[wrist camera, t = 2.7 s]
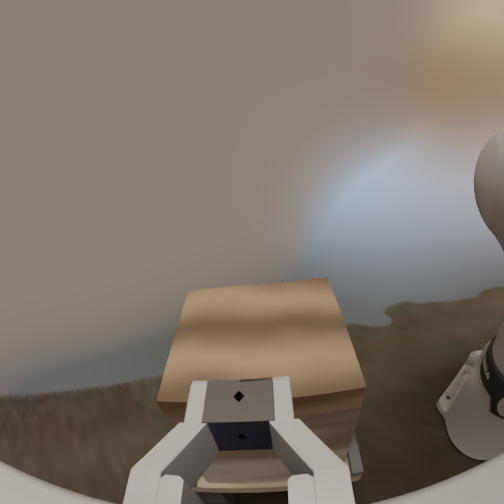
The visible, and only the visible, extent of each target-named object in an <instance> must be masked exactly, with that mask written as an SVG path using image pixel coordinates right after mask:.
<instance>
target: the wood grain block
mask: <svg viewBox="0 0 504 504" xmlns="http://www.w3.org/2000/svg"><path fill="white" fill-rule="evenodd" d="M280 376H289V377H290V383H291V392H292V402H293V411H294V419H300V420H301V421H302V422H303V423H304V424H305V425H306V426H307V427H308V428H309V429H310V430H311V431H312V432H313V433H314V434H315V435H316V436H317V437H318V438H319V439H320V440H321V441H322V442H323V443H324V444H325V445H326V446H327V447H328V448H329V449H330V450H331V451H332V452H333V453H334V454H336V455H337V456H338V457H339V458H340V459H341V460H342V461H343V462H344V461H345V458H346V456H347V453H348V450H349V447H350V443H351V440H352V437H353V434H354V431H355V427H356V424H357V420H358V417H359V413H360V410H361V406H362V403H363V399H364V395H365V391H366V384H365V381H364V378H363V375H362V372H361V369H360V366H359V363H358V360H357V357H356V354H355V351H354V348H353V345H352V342H351V340H350V337H349V334H348V331H347V328H346V326H345V323H344V320H343V317H342V315H341V312H340V309H339V306H338V304H337V301H336V298H335V296H334V293H333V291H332V288H331V285H330V283H329V280H328V278H317V279H308V280H298V281H289V282H278V283H267V284H256V285H245V286H233V287H220V288H208V289H196V290H189V291H188V294H187V297H186V301H185V304H184V307H183V310H182V314H181V317H180V320H179V324H178V327H177V330H176V334H175V337H174V340H173V344H172V347H171V351H170V354H169V357H168V361H167V365H166V368H165V372H164V375H163V379H162V382H161V386H160V390H159V394H158V397H157V403H158V405H159V407H160V408H161V410H162V412H163V414H164V415H165V417H166V419H167V421H168V422H169V424H170V426H171V427H172V429H173V428H174V427H175V426H176V425H177V424H178V423H179V422H182V423H184V419H185V413H186V408H187V402H188V397H189V392H190V386H191V384H192V382H193V380H197V381H201V380H240V379H254V378H266V377H272V379H273V377H280ZM219 452H220V453H219V454H218V455H217V457H216V458H215V459H214V461H213V462H212V463H211V465H210V466H209V467H208V469H207V470H206V471H205V473H204V474H203V475H202V476H203V477H204V478H205V480H206V481H207V483H223V484H245V483H271V482H285V481H288V479H289V478H290V477H291V476H292V474H291V473H290V471H289V470H288V469H287V468H286V466H285V465H284V464H283V463H282V461H281V460H280V459H279V457H278V456H277V455H276V453H275V452H274V451H273V449H268V450H236V451H219Z"/></svg>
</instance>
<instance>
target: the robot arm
mask: <svg viewBox="0 0 504 504" xmlns="http://www.w3.org/2000/svg"><path fill="white" fill-rule="evenodd" d="M474 192H475V198H476V203H477V206H478V209H479V212H480V214H481V216H482V218H483V220H484V222H485V224H486V225H487V227H488V228H489V229H490V231H491V232H492V233H493V234H494V236H495V237H496V239H497V240H498V242H499V243H500V245H501V247H502V249H503V251H504V134H496V135H495V136H494V137H492V138H491V139H490V140H489V141H488V142H487V144H486V145H485V146H484V148H483V150H482V151H481V153H480V156H479V158H478V161H477V164H476V168H475V175H474ZM446 398H448V399H449V400H448V399H446ZM436 405H437V408H438V410H439V412H440V413H441V414H442V416H443V417H444V419H445V422H446V427H447V431H448V434H449V437H450V439H451V441H452V442H453V444H454V445H455V446H456V447H457V448H458V449H459V450H460V451H461V452H462V453H464V454H465V455H467V456H469V457H471V458H474V459H478V460H488V461H486V462H484V463H482V464H480V465H478V466H476V467H474V468H472V469H469V470H467V471H465V472H463V473H461V474H458V475H456V476H454V477H451V478H449V479H446V480H444V481H441V482H439V483H436V484H433V485H431V486H428V487H425V488H422V489H420V490H417V491H414V492H410V493H407V494H404V495H401V496H397V497H394V498H390V499H387V500H383V501H379V502H375V503H371V504H504V318H503V320H502V323H501V326H500V329H499V331H498V333H497V335H495V337H494V338H493V339H492V340H491V341H489V342H487V344H486V345H485V347H484V349H483V350H479V351H473V352H471V353H470V355H469V357H468V359H467V361H466V362H465V364H464V365H463V367H462V368H461V370H460V371H459V373H458V374H457V376H456V377H455V378H454V380H453V381H452V383H451V384H450V385H449V387H448V388H447V389H446V391H445V392H444V393H443V395H442V396H441V397H440V399H439V400H438V401H437V404H436ZM268 449H273V451H274V452H275V453H276V455H277V456H278V457H279V459H280V460H281V461H282V463H283V464H284V465H285V466H286V468H287V469H288V470H289V471H290V473H291V474H292V476H291V477H290V478H289V479H288V504H355V500H354V494H353V489H352V483H351V478H350V472H349V467H348V466H347V465H346V464H345V463H344V462H343V461H342V460H341V459H340V458H339V457H338V456H337V455H336V454H334V453H333V452H332V451H331V450H330V449H329V448H328V447H327V446H326V445H325V444H324V443H323V442H322V441H321V440H320V439H319V438H318V437H317V436H316V435H315V434H314V433H313V432H312V431H311V430H310V429H309V428H308V427H307V426H306V425H305V424H304V423H303V422H302V421H301V420H300V419H294V411H293V402H292V392H291V383H290V377H289V376H280V377H273V379H272V377H266V378H254V379H240V380H201V381H197V380H193V382H192V384H191V386H190V392H189V397H188V402H187V408H186V413H185V419H184V423H182V422H179V423H178V424H177V425H176V426H175V427H174V428H173V429H172V430H171V431H170V432H169V433H168V434H167V435H166V436H165V437H164V438H163V439H162V440H161V441H160V442H159V443H158V444H157V445H156V446H155V447H154V448H153V449H152V450H151V451H149V452H148V453H147V454H146V455H145V456H144V457H143V458H142V459H141V460H140V461H139V462H138V463H137V464H136V465H135V466H133V467H132V468H131V472H130V476H129V480H128V484H127V488H126V492H125V497H124V501H123V504H204V503H203V501H202V500H201V499H200V498H199V497H198V496H197V495H196V494H195V493H194V491H193V490H192V488H193V487H194V486H195V484H196V483H197V482H198V480H199V479H200V478H201V477H202V475H203V474H204V473H205V471H206V470H207V469H208V467H209V466H210V465H211V463H212V462H213V461H214V459H215V458H216V457H217V455H218V454H219V453H220V452H219V451H236V450H268ZM0 504H115V503H111V502H107V501H103V500H100V499H96V498H92V497H89V496H86V495H82V494H79V493H76V492H73V491H70V490H67V489H64V488H62V487H59V486H56V485H53V484H51V483H48V482H46V481H43V480H41V479H38V478H36V477H33V476H31V475H29V474H27V473H24V472H22V471H20V470H18V469H16V468H14V467H12V466H10V465H8V464H6V463H4V462H2V461H0Z"/></svg>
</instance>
